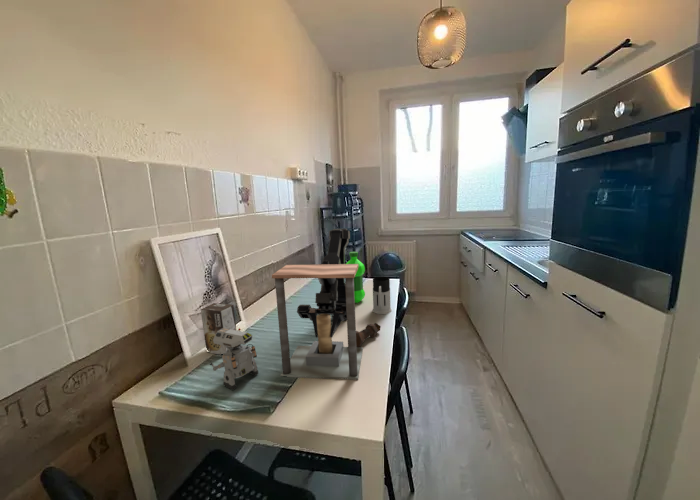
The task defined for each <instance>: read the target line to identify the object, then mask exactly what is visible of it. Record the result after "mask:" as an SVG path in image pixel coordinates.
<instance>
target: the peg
mask: <svg viewBox="0 0 700 500" xmlns="http://www.w3.org/2000/svg"><path fill="white" fill-rule="evenodd" d="M331 318H332V315H331V314H318V315H317V331H318V337H317V341H318V346H319V354H333V351H332V341H333V337H332V338H331V337H330V334H331V327H332V321H331V320H332V319H331Z"/></svg>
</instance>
